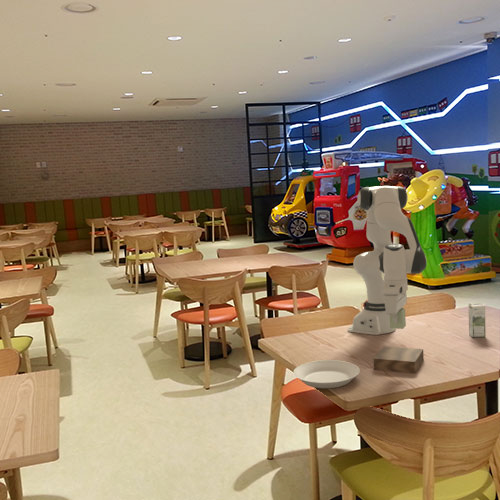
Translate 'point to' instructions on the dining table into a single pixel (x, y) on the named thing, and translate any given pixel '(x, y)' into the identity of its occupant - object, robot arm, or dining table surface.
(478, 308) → the syrup box
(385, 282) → the robot arm
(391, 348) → the walnut block
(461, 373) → the dining table surface
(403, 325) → the sage block
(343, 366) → the white plate
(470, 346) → the dining table surface
